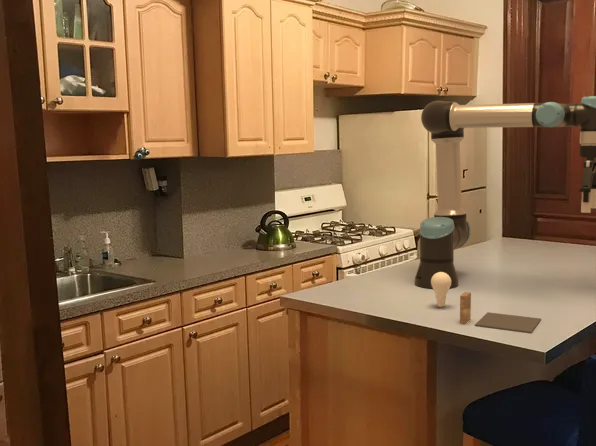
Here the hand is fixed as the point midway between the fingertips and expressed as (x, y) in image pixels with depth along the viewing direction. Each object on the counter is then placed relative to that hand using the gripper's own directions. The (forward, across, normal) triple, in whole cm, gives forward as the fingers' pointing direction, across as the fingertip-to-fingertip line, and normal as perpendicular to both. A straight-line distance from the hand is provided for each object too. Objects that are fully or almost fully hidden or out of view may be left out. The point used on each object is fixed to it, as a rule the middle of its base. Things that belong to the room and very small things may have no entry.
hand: (589, 210), depth 208 cm
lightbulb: (+28, -42, +34) cm, 61 cm away
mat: (+27, -48, +12) cm, 57 cm away
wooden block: (+27, -53, +23) cm, 64 cm away
